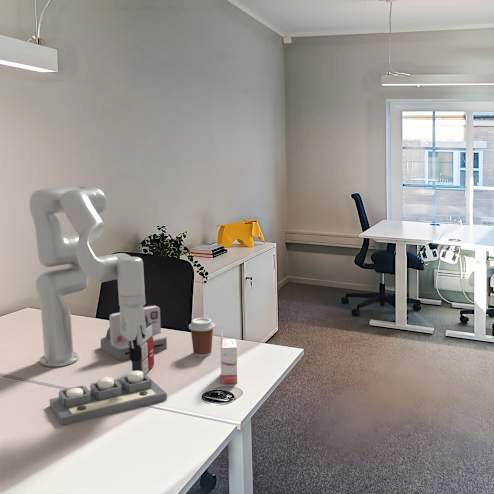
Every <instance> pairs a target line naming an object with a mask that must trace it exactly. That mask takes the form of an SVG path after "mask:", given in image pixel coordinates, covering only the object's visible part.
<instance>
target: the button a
mask: <svg viewBox="0 0 494 494" xmlns="http://www.w3.org/2000/svg"><path fill="white" fill-rule="evenodd" d="M71 388H72V389H69V390H67V391H66V397H67V398H71V397H75V396H80V395H83V389H81V388H73V387H71Z"/></svg>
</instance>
